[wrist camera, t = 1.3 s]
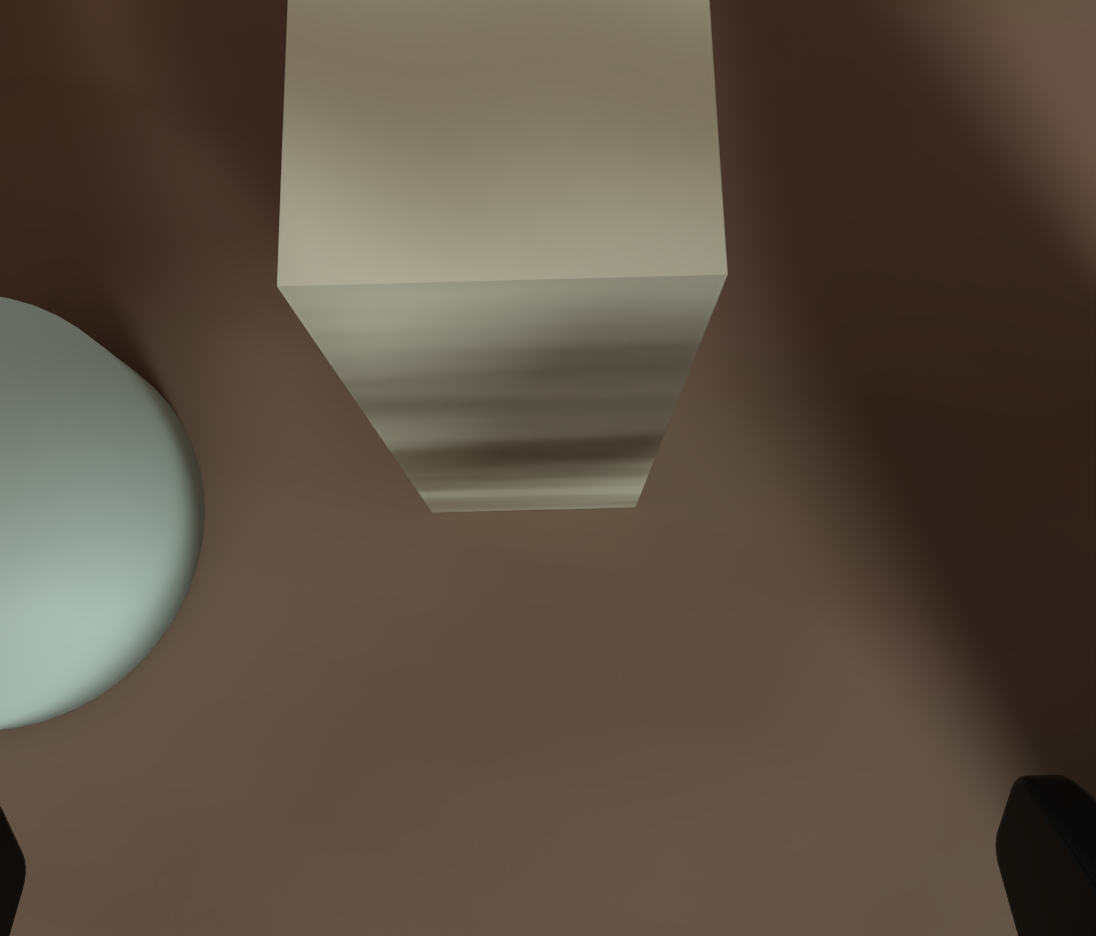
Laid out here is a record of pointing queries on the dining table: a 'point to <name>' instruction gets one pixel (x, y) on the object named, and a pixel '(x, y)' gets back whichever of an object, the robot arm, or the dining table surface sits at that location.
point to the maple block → (505, 232)
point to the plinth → (85, 516)
